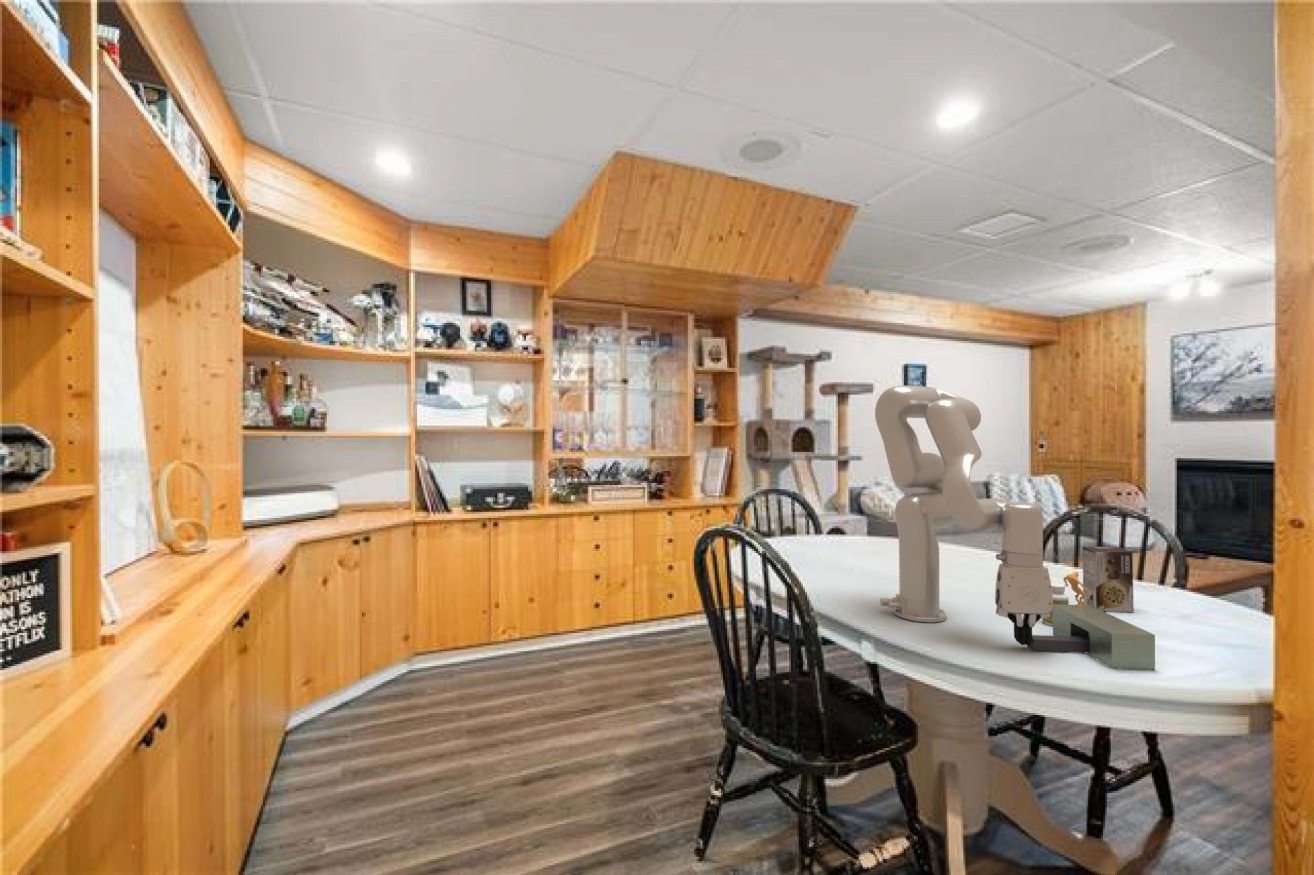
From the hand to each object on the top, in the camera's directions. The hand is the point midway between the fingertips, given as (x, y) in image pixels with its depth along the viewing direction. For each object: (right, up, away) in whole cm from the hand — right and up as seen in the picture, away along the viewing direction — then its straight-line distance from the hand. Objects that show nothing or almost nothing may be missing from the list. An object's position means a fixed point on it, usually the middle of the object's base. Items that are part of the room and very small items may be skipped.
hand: (1023, 643), depth 125 cm
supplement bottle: (+18, -1, +16) cm, 25 cm away
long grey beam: (+11, -1, -1) cm, 11 cm away
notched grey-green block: (+16, -1, -1) cm, 16 cm away
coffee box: (+41, -1, +28) cm, 50 cm away
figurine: (+27, -1, +20) cm, 33 cm away
